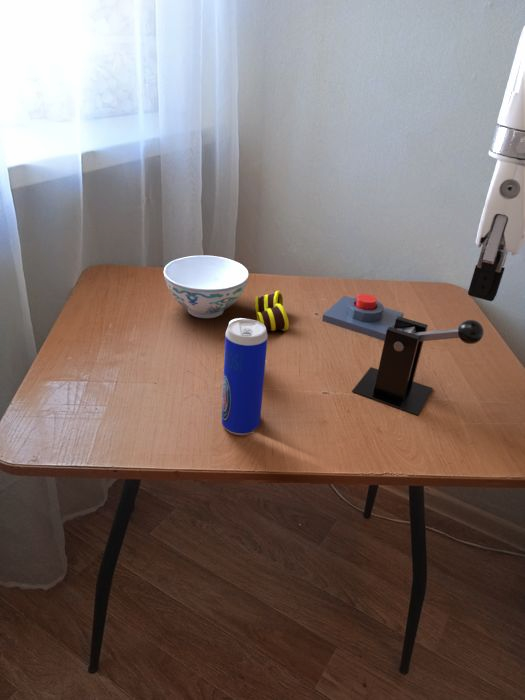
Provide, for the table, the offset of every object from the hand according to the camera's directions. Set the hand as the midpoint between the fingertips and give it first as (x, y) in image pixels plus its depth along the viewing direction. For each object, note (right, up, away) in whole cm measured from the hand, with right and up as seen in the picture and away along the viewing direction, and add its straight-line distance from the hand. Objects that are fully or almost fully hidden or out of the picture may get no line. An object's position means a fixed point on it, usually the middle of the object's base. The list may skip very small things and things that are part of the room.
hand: (481, 295), depth 71 cm
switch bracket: (-8, -14, +13) cm, 21 cm away
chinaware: (-38, 0, +33) cm, 50 cm away
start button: (-9, +1, +30) cm, 32 cm away
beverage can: (-31, -17, +4) cm, 36 cm away
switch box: (-9, -2, +32) cm, 34 cm away
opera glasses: (-27, -2, +30) cm, 40 cm away
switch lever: (-4, -6, +6) cm, 9 cm away
